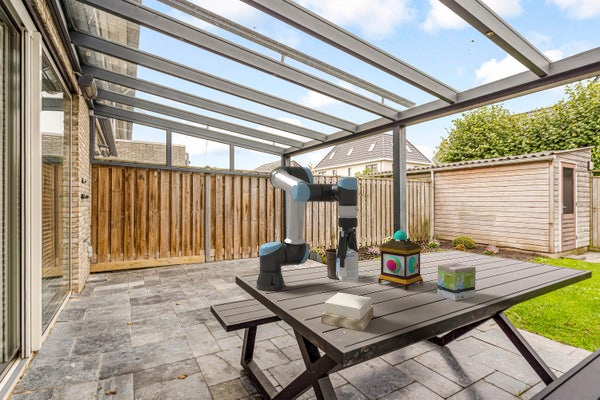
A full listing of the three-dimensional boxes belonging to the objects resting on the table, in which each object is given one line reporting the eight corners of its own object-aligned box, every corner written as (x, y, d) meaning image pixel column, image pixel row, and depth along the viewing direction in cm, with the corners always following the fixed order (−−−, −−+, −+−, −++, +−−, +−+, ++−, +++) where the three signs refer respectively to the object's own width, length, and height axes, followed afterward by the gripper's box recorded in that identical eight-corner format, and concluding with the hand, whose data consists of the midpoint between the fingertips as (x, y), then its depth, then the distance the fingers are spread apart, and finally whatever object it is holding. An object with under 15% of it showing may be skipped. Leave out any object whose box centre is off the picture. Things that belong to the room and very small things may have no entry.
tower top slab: (324, 312, 114) (324, 302, 114) (338, 301, 126) (338, 292, 126) (360, 320, 107) (360, 308, 107) (371, 307, 119) (371, 297, 119)
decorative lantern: (407, 292, 151) (407, 232, 151) (374, 284, 166) (374, 230, 166) (426, 285, 164) (426, 230, 164) (394, 278, 179) (394, 227, 179)
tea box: (455, 301, 137) (455, 269, 137) (436, 295, 146) (436, 265, 146) (476, 297, 144) (476, 266, 144) (456, 291, 153) (456, 262, 153)
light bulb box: (335, 275, 122) (335, 248, 122) (352, 274, 123) (352, 248, 123) (341, 282, 112) (341, 253, 112) (359, 281, 112) (359, 253, 112)
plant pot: (353, 281, 172) (353, 252, 172) (325, 280, 173) (325, 252, 173) (349, 274, 189) (349, 248, 189) (323, 274, 189) (323, 248, 189)
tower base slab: (321, 324, 113) (321, 313, 113) (335, 310, 128) (335, 300, 128) (363, 332, 106) (363, 321, 106) (373, 316, 121) (373, 306, 121)
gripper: (348, 218, 105) (348, 280, 104) (364, 215, 126) (365, 267, 126) (327, 218, 108) (327, 278, 108) (347, 215, 130) (347, 265, 130)
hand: (347, 272), depth 117 cm, fingers closed on light bulb box, 12 cm apart
